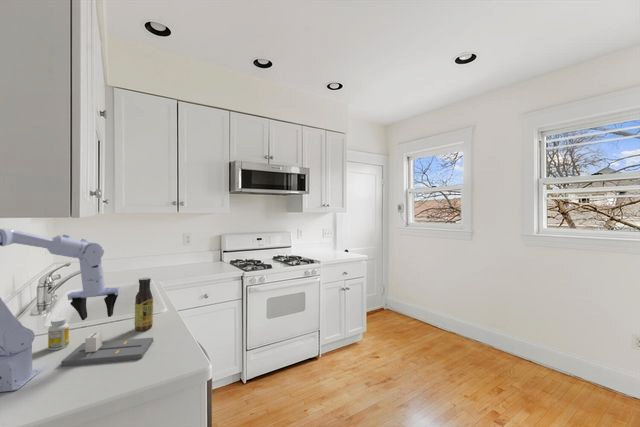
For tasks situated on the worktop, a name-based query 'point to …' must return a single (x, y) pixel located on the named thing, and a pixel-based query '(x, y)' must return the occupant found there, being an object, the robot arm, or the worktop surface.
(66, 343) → the supplement bottle
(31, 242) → the robot arm
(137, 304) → the sauce bottle
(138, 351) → the fader console
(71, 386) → the worktop surface
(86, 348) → the fader cap
